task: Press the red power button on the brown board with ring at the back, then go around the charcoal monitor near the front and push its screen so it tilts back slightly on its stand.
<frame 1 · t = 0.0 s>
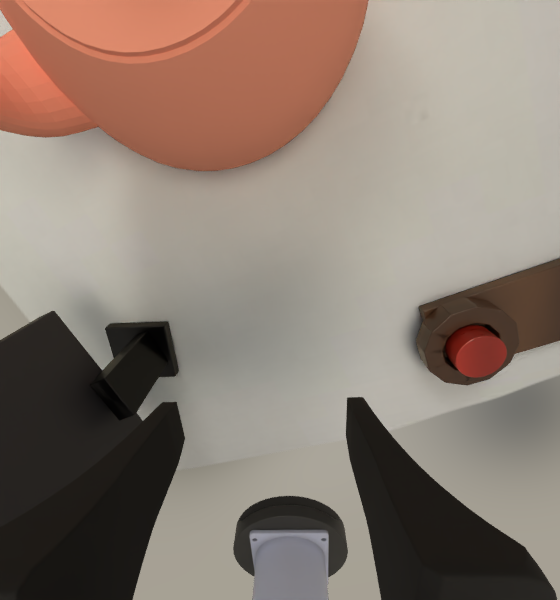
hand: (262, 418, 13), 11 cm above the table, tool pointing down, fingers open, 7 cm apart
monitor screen: (61, 442, 17), point 9 cm above the table, hinge at 0.0°
power button: (474, 351, 21), point 3 cm above the table, slide at 0.1 cm
monitor stand: (137, 351, 25), on the table
brown board with ring: (553, 298, 22), on the table
teapot: (200, 27, 17), on the table
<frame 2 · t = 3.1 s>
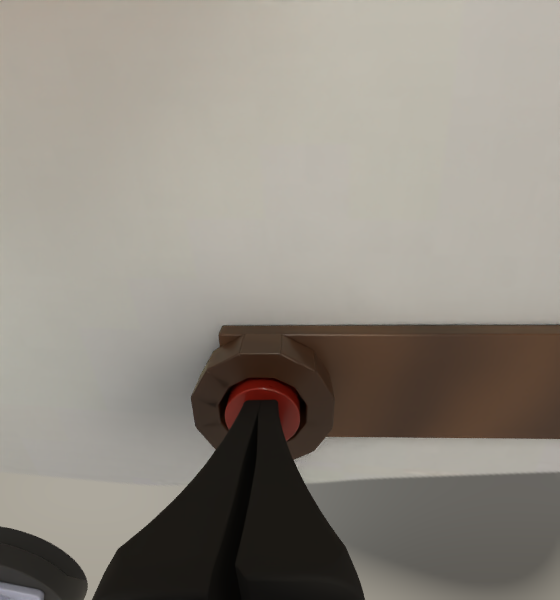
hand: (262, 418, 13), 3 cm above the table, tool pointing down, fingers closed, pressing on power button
power button: (263, 406, 14), point 2 cm above the table, slide at -0.7 cm, touching gripper
brown board with ring: (407, 378, 15), on the table
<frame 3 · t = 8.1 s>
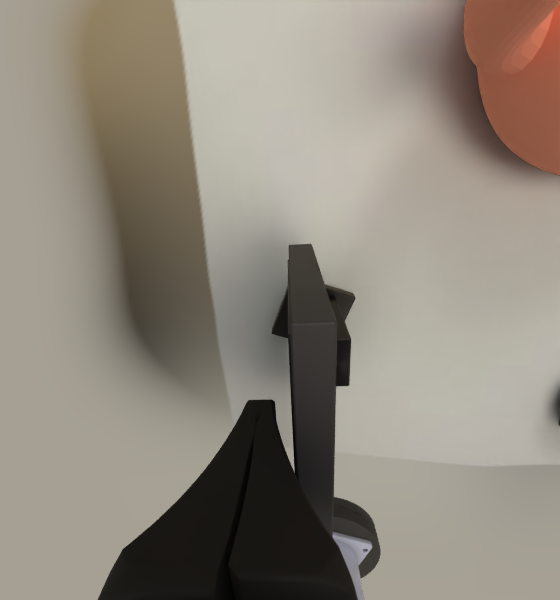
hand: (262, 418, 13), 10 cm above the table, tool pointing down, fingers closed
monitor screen: (306, 394, 14), point 9 cm above the table, hinge at 0.3°, touching gripper
monitor stand: (300, 312, 23), on the table
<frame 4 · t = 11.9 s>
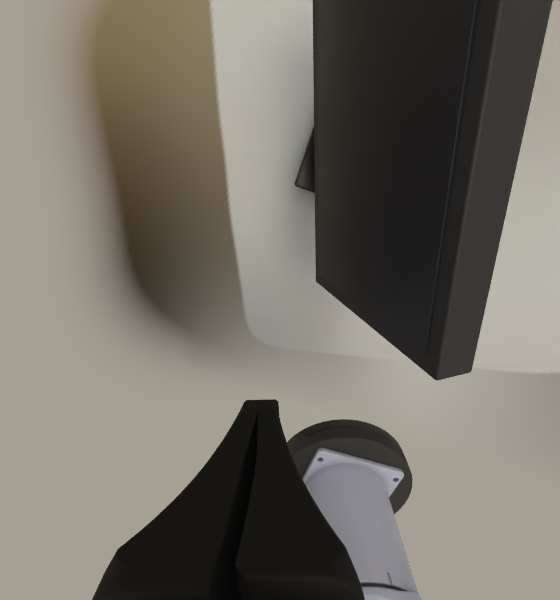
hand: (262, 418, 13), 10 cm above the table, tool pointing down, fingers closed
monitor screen: (378, 150, 10), point 9 cm above the table, hinge at 16.9°
monitor stand: (329, 159, 19), on the table
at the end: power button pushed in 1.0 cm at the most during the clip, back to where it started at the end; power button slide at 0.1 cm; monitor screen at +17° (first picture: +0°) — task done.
